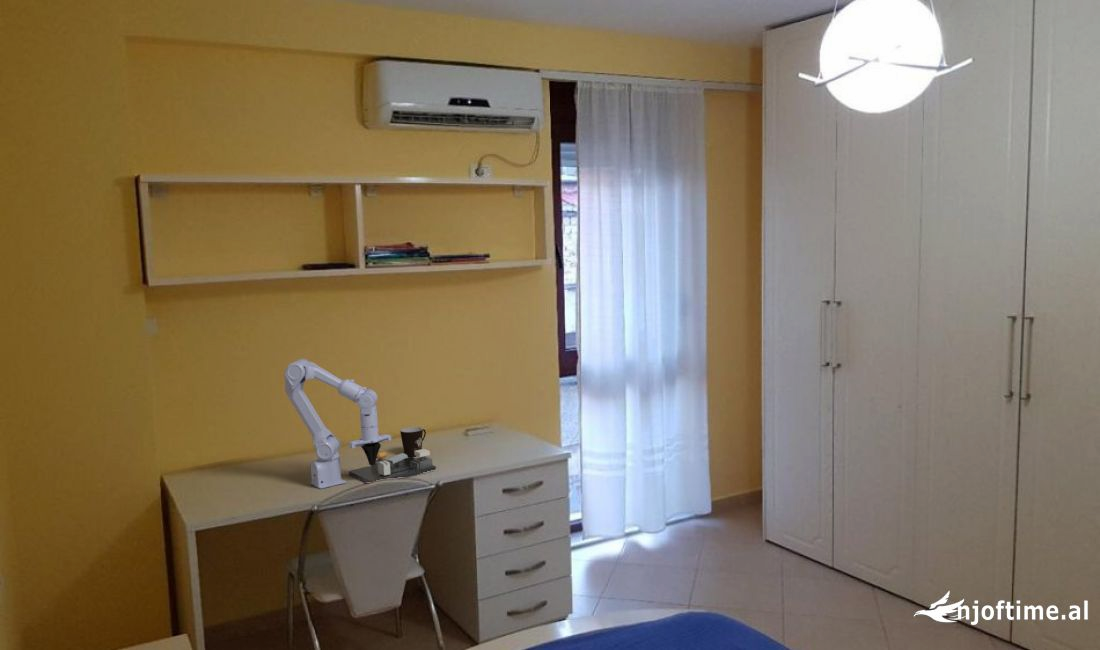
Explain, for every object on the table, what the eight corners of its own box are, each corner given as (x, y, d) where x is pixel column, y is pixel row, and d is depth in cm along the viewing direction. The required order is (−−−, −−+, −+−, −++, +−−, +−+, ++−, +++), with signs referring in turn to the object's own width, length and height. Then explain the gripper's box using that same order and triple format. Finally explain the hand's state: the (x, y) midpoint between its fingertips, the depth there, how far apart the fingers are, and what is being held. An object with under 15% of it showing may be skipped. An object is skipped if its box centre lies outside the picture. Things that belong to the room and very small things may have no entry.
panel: (371, 485, 280) (370, 474, 279) (349, 474, 294) (348, 463, 294) (436, 470, 295) (435, 459, 295) (411, 460, 309) (410, 450, 309)
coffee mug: (407, 459, 312) (405, 433, 310) (398, 454, 319) (396, 429, 318) (435, 453, 318) (433, 428, 317) (425, 449, 325) (424, 424, 324)
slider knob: (384, 475, 285) (383, 464, 284) (378, 473, 288) (378, 461, 287) (390, 474, 286) (389, 462, 286) (385, 471, 289) (384, 460, 289)
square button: (420, 463, 293) (419, 453, 293) (414, 461, 296) (414, 450, 296) (430, 461, 296) (429, 450, 295) (424, 459, 299) (424, 448, 298)
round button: (377, 465, 293) (377, 455, 292) (372, 463, 296) (371, 452, 296) (388, 463, 295) (388, 452, 295) (383, 460, 299) (382, 450, 298)
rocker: (393, 463, 297) (392, 461, 297) (388, 461, 300) (387, 459, 300) (407, 457, 300) (407, 454, 300) (402, 455, 303) (402, 452, 303)
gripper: (354, 431, 275) (357, 471, 276) (394, 423, 284) (396, 462, 285) (345, 428, 280) (348, 467, 282) (384, 420, 289) (387, 458, 291)
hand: (372, 464), depth 284 cm, fingers closed
